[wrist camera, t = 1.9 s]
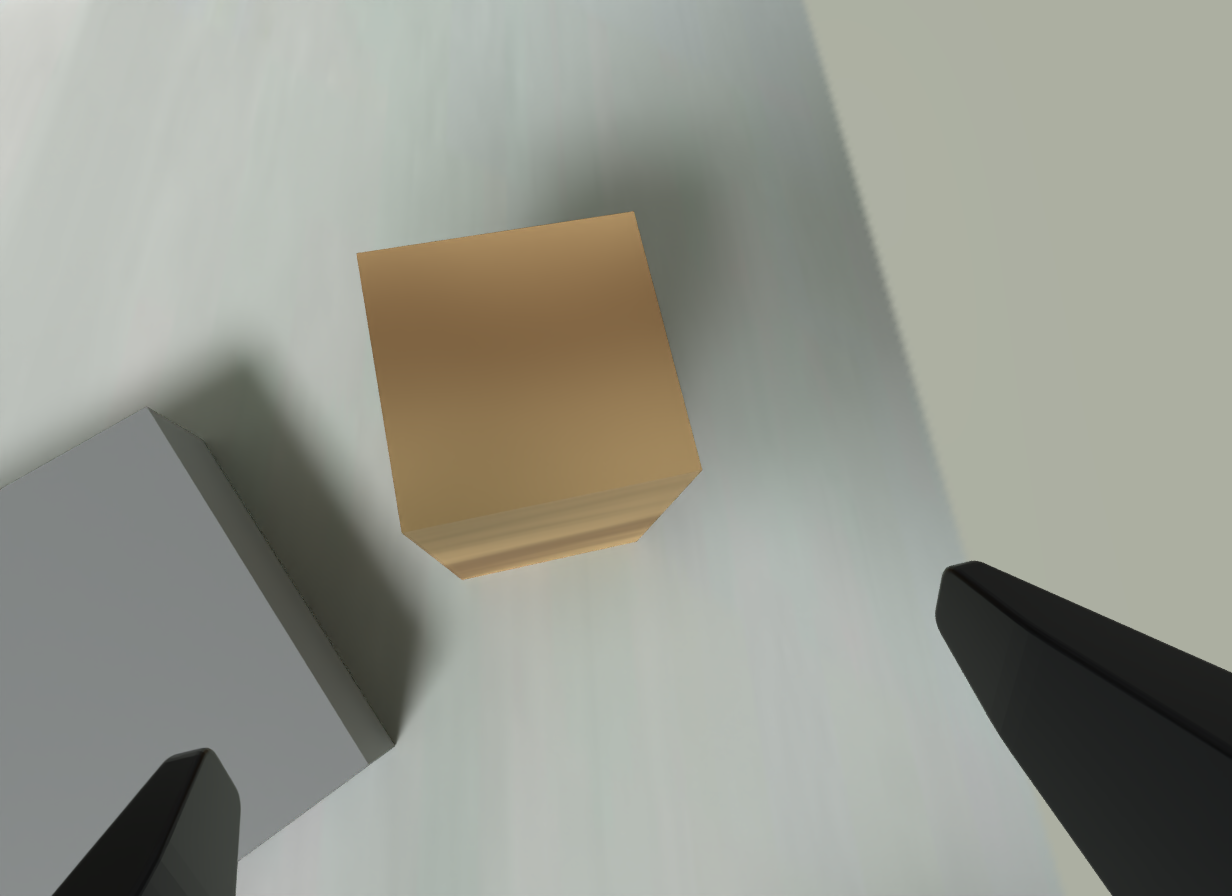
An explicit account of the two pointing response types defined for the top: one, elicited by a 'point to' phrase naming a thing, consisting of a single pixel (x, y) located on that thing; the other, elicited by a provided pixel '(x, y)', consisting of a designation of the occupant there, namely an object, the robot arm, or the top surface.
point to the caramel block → (526, 392)
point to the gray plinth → (154, 652)
